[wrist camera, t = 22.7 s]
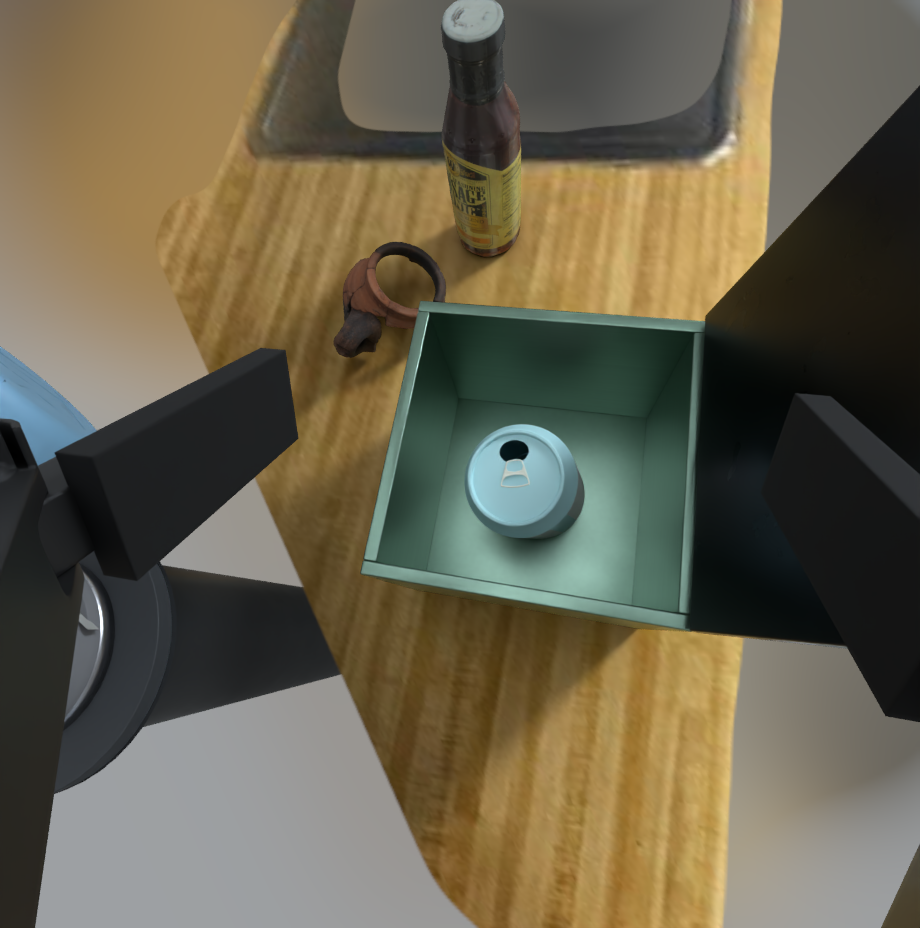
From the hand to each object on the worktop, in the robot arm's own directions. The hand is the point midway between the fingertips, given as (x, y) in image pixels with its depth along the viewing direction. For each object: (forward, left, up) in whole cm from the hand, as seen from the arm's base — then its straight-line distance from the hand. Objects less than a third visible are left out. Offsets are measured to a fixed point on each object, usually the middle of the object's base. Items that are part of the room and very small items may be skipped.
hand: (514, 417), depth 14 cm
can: (0, +5, -28) cm, 29 cm away
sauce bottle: (-8, +31, -30) cm, 43 cm away
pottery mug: (-16, +20, -30) cm, 39 cm away
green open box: (0, +5, -30) cm, 30 cm away
